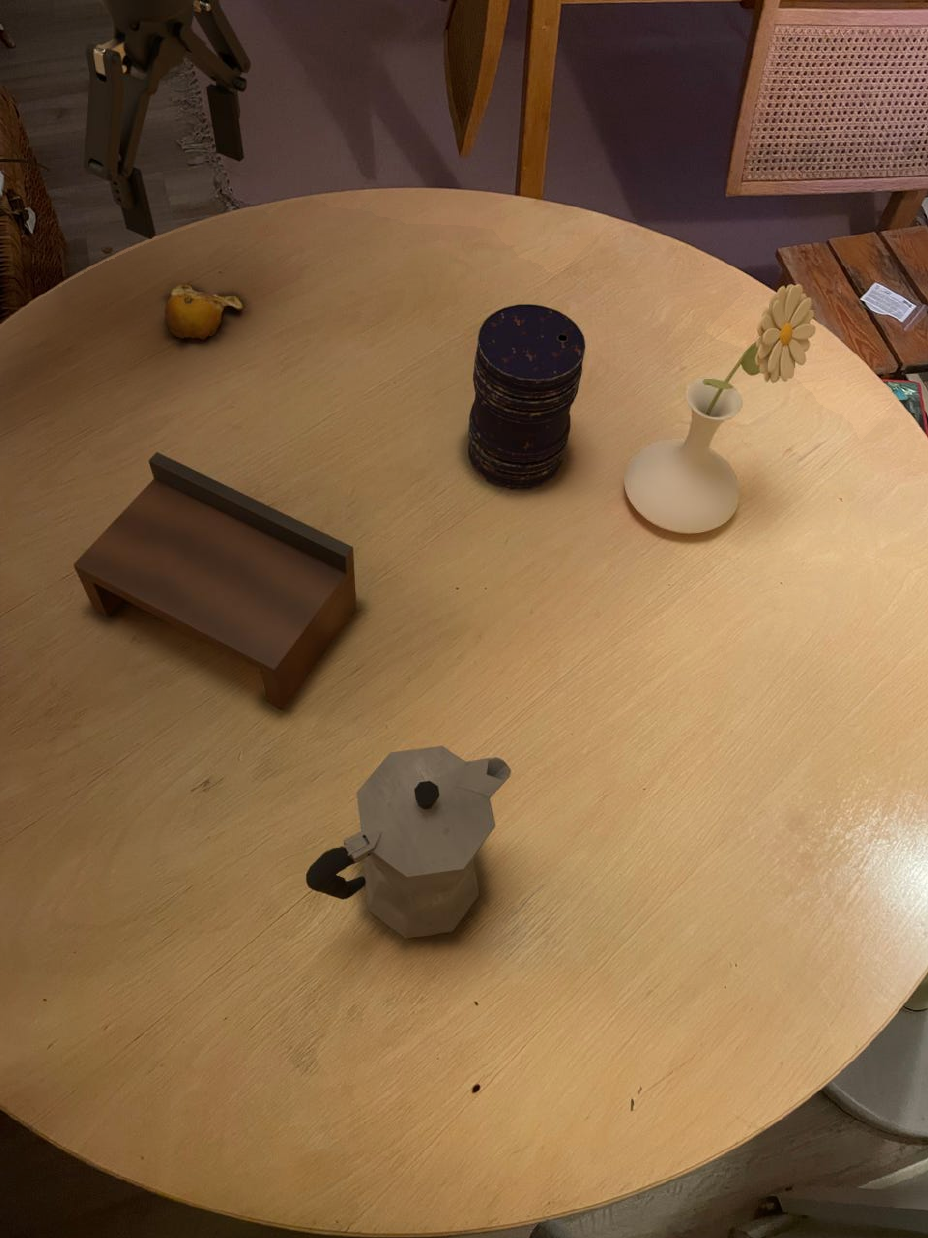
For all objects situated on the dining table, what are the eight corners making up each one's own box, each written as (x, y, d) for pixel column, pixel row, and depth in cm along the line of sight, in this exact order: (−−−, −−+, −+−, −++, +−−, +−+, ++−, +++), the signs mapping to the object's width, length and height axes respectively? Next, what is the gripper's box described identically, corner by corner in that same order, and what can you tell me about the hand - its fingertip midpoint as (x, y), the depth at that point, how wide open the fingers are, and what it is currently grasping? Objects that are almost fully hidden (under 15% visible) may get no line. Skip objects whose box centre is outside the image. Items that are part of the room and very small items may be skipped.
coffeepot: (460, 792, 85) (475, 688, 70) (524, 889, 81) (554, 801, 66) (291, 887, 80) (267, 797, 65) (350, 996, 76) (339, 927, 61)
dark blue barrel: (477, 496, 102) (489, 387, 89) (457, 422, 107) (465, 308, 94) (575, 484, 103) (600, 374, 90) (550, 411, 108) (571, 298, 96)
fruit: (248, 300, 114) (243, 273, 111) (221, 352, 110) (216, 325, 107) (176, 286, 115) (170, 258, 112) (147, 336, 111) (140, 309, 107)
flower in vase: (656, 557, 99) (728, 363, 78) (600, 471, 104) (653, 268, 83) (770, 517, 102) (869, 321, 81) (710, 436, 108) (788, 232, 86)
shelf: (282, 710, 88) (271, 654, 80) (93, 609, 92) (65, 547, 84) (356, 608, 94) (353, 546, 86) (175, 517, 98) (156, 451, 90)
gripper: (68, 35, 72) (134, 282, 90) (273, -104, 84) (295, 138, 102) (-15, 3, 74) (66, 251, 92) (198, -129, 86) (232, 113, 104)
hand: (187, 192), depth 97 cm, fingers open, 13 cm apart
